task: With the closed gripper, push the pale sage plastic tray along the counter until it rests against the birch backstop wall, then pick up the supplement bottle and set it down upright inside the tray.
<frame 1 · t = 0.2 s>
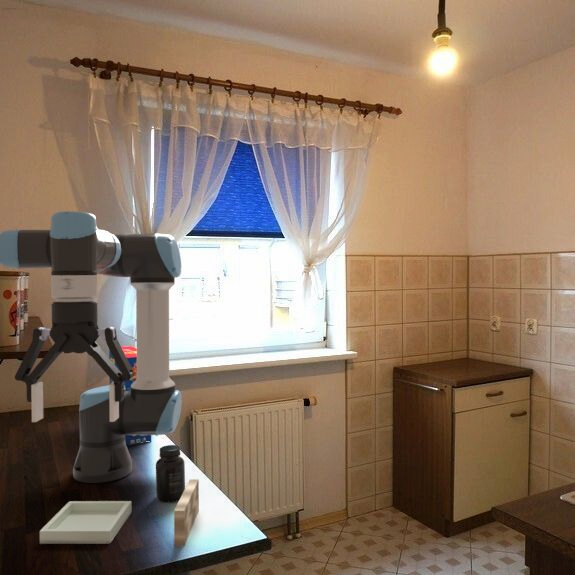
hand: (76, 420, 93), 28 cm above the counter, tool pointing down, fingers open, 13 cm apart
pasta box: (129, 433, 179), on the counter
sliding tray: (88, 526, 111), on the counter
backstop wall: (187, 526, 111), on the counter
supplement bottle: (170, 498, 126), on the counter
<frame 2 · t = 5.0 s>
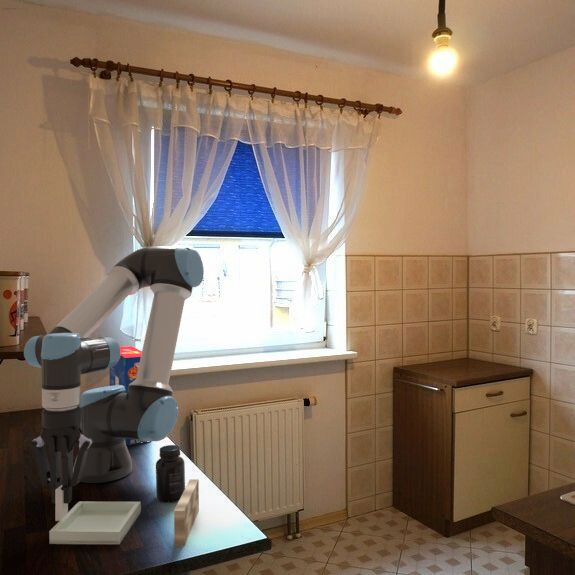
hand: (61, 517, 111), 2 cm above the counter, tool pointing down, fingers closed
sliding tray: (98, 527, 111), on the counter, touching gripper
everything else where it was.
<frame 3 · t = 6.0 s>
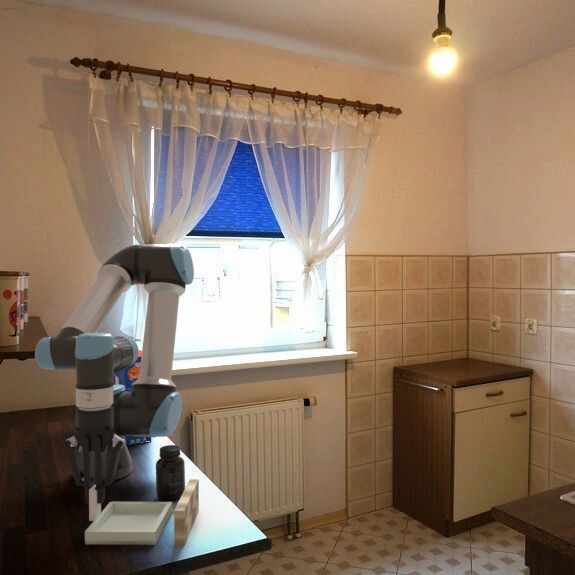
hand: (95, 517, 111), 2 cm above the counter, tool pointing down, fingers closed
sliding tray: (131, 527, 110), on the counter, touching gripper
everything else where it was.
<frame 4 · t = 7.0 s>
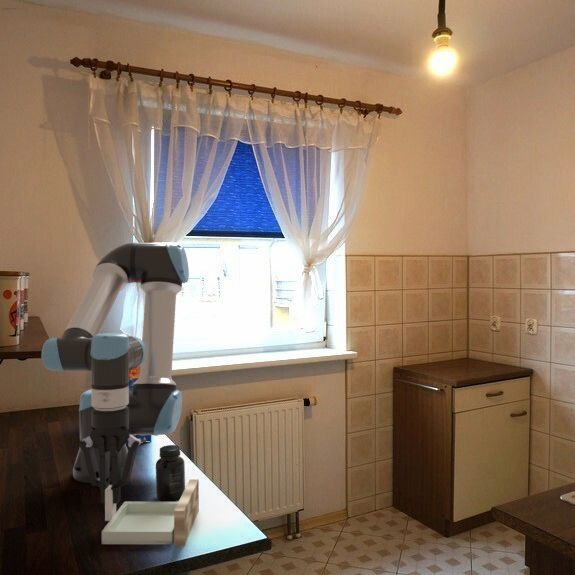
hand: (110, 517, 111), 2 cm above the counter, tool pointing down, fingers closed
sliding tray: (146, 527, 110), on the counter, touching gripper
everything else where it was.
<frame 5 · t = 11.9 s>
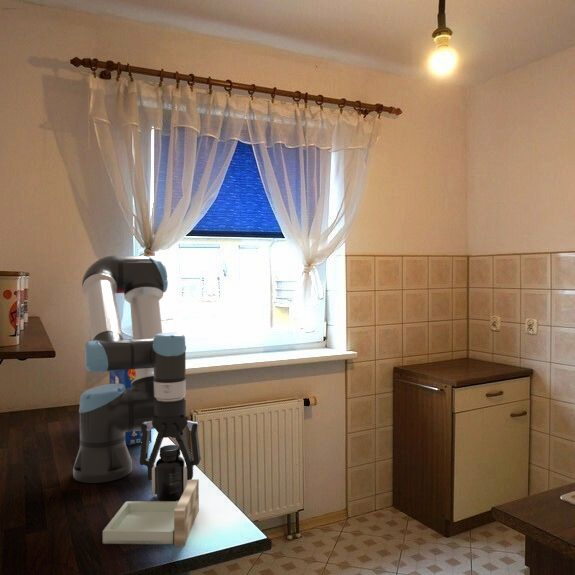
hand: (170, 493, 126), 1 cm above the counter, tool pointing down, fingers closed on supplement bottle, 7 cm apart
sliding tray: (148, 527, 111), on the counter
supplement bottle: (170, 498, 126), on the counter, touching gripper
everything else where it was.
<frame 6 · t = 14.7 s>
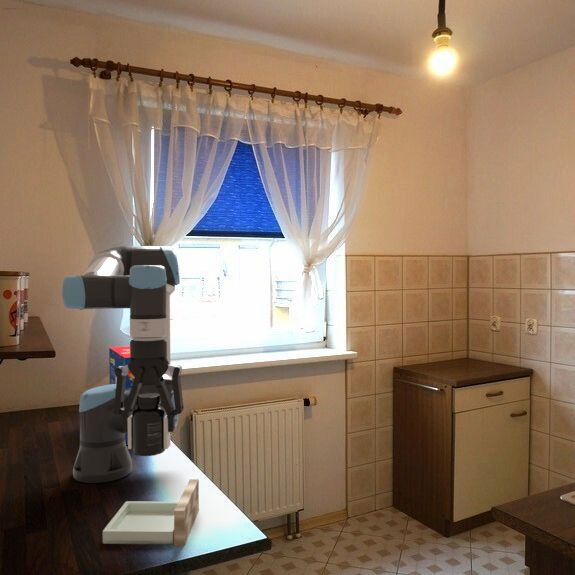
hand: (149, 446, 111), 17 cm above the counter, tool pointing down, fingers closed on supplement bottle, 7 cm apart
supplement bottle: (149, 452, 111), point 16 cm above the counter, touching gripper
everything else where it was.
when the fingers open (4 cm above the counter, at t = 17.5 s): supplement bottle drops 2 cm, resting on sliding tray.
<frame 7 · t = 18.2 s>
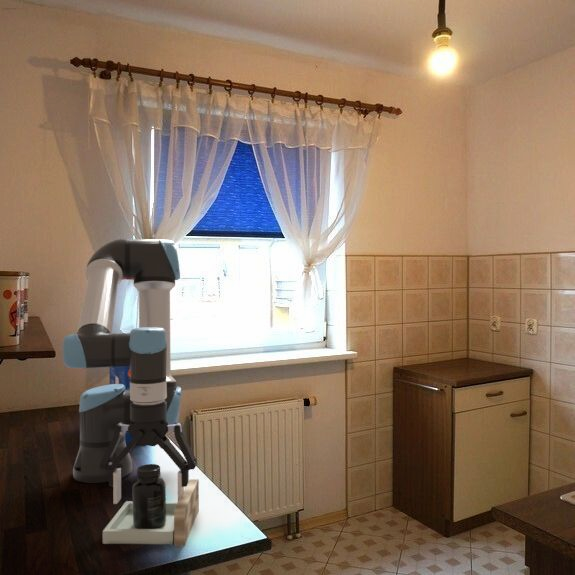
hand: (149, 501, 111), 5 cm above the counter, tool pointing down, fingers open, 13 cm apart
sliding tray: (148, 527, 111), on the counter, touching supplement bottle
supplement bottle: (149, 524, 111), resting on sliding tray
everything else where it was.
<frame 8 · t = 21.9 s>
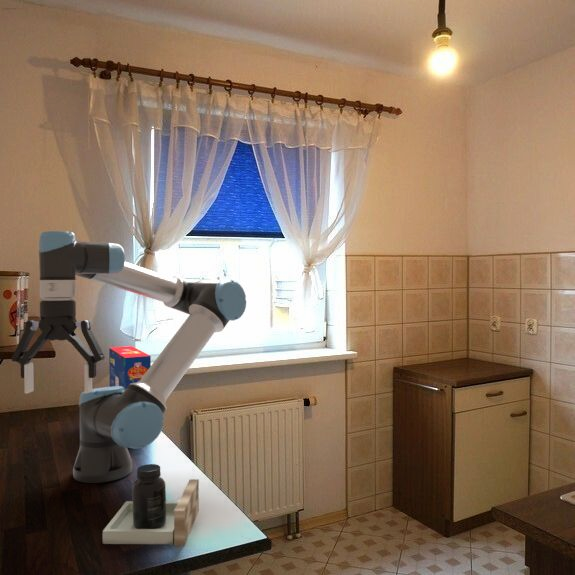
hand: (58, 392, 119), 27 cm above the counter, tool pointing down, fingers open, 13 cm apart
nothing on the counter moved.
at the end: sliding tray inside the target area (0.6 cm from its centre), on the counter; supplement bottle 0.4 cm off-centre on the sliding tray, point 0.4 cm above the sliding tray's base; supplement bottle tilted 0° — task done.
